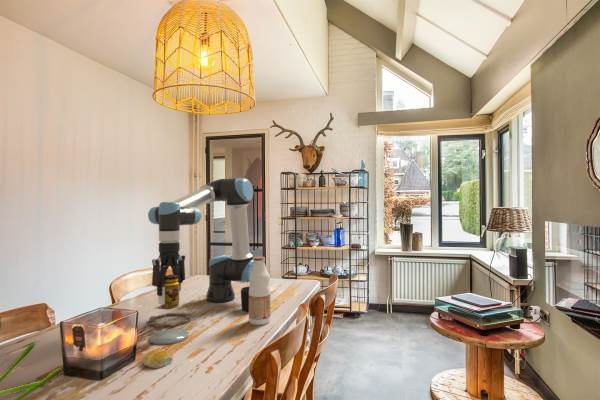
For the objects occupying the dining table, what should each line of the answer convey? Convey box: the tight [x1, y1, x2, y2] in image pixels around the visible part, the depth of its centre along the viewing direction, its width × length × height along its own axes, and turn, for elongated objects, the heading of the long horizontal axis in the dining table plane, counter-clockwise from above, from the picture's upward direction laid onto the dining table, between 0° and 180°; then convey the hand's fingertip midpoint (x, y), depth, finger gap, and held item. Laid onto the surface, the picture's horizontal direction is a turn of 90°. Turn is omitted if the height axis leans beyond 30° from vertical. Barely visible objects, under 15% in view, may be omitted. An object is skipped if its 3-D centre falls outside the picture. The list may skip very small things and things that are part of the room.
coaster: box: [149, 328, 189, 346], centre depth 134 cm, size 14×14×1 cm
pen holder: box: [240, 286, 250, 313], centre depth 169 cm, size 9×9×10 cm
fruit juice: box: [248, 256, 272, 326], centre depth 151 cm, size 9×9×28 cm
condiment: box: [152, 274, 184, 311], centre depth 134 cm, size 7×8×12 cm
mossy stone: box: [143, 348, 174, 369], centre depth 113 cm, size 8×9×4 cm
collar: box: [147, 311, 192, 329], centre depth 153 cm, size 17×17×2 cm
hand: (169, 301), depth 134 cm, fingers closed on condiment, 6 cm apart
